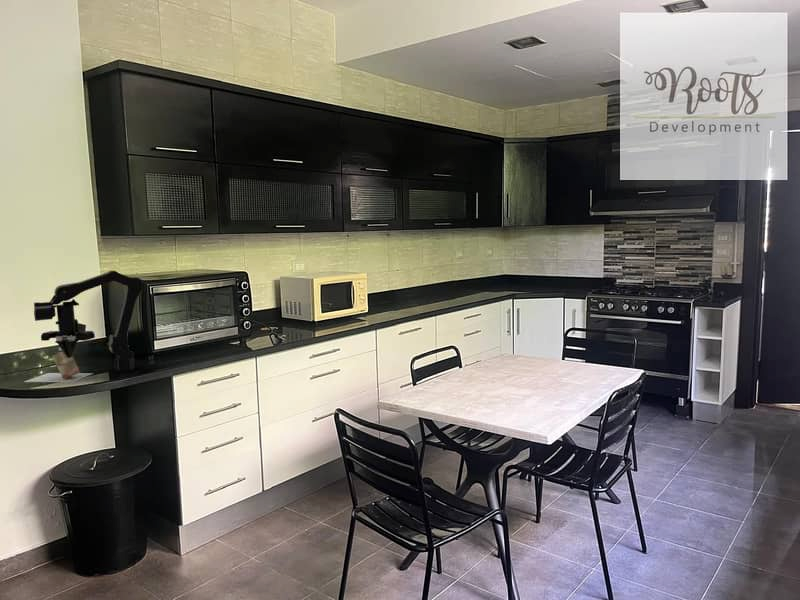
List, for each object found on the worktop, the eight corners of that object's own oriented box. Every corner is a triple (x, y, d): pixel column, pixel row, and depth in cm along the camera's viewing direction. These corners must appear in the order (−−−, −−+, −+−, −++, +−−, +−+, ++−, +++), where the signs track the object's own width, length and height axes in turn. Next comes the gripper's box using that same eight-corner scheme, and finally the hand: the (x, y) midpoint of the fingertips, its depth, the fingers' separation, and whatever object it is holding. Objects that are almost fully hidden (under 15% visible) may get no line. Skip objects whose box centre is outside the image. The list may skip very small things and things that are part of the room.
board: (93, 375, 236) (93, 373, 236) (71, 384, 223) (71, 382, 223) (48, 375, 238) (47, 373, 238) (23, 384, 226) (23, 381, 225)
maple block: (80, 372, 231) (69, 349, 230) (72, 375, 227) (61, 351, 226) (71, 376, 232) (60, 353, 231) (63, 379, 227) (52, 355, 227)
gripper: (101, 314, 233) (105, 353, 235) (58, 314, 235) (62, 353, 237) (83, 319, 222) (87, 359, 224) (38, 319, 224) (42, 359, 226)
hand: (70, 357), depth 228 cm, fingers closed
